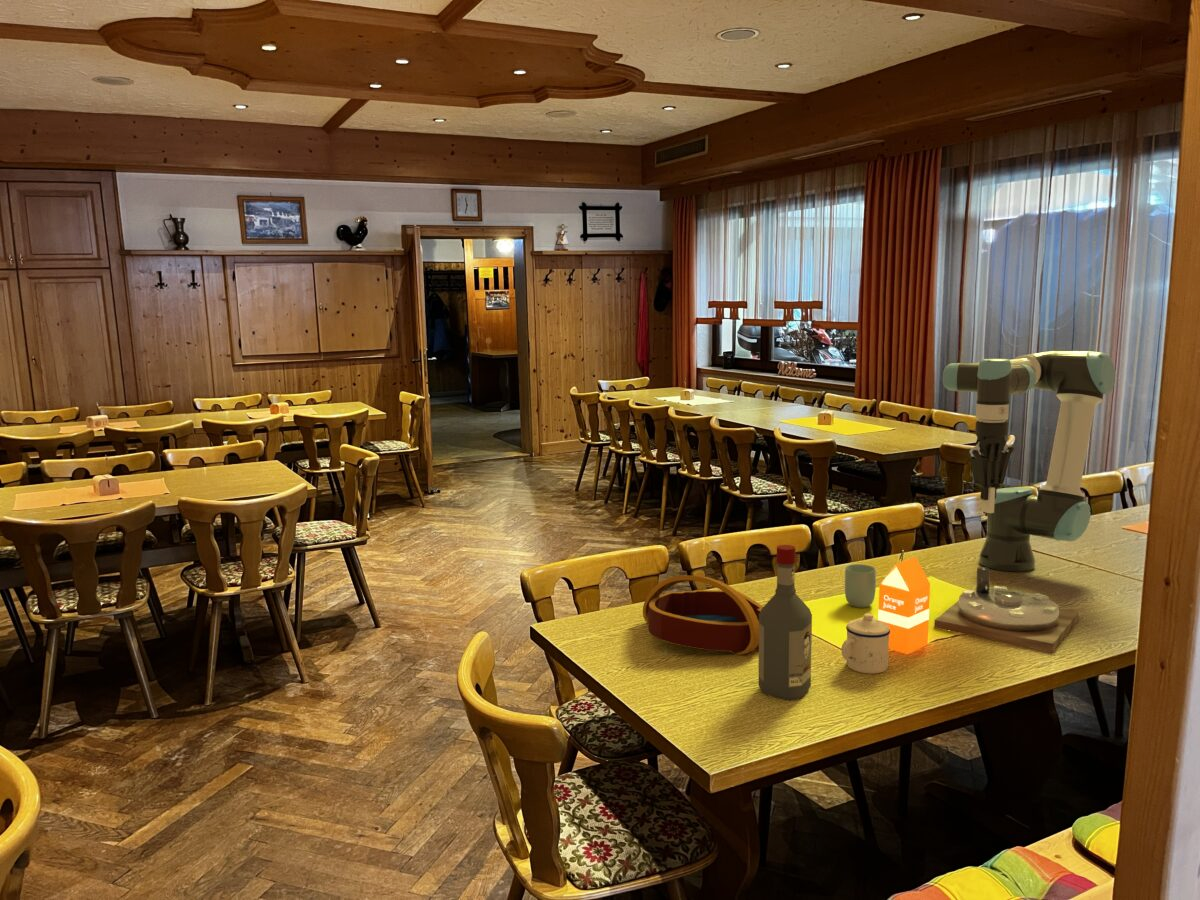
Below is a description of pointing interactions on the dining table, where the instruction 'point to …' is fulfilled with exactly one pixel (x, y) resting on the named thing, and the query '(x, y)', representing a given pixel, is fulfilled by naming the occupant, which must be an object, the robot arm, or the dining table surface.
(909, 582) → the orange juice
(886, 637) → the teacup with lid
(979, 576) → the crank wheel
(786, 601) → the liquor
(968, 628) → the base plate
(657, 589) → the decorative basket
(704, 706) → the dining table surface
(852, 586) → the cup
